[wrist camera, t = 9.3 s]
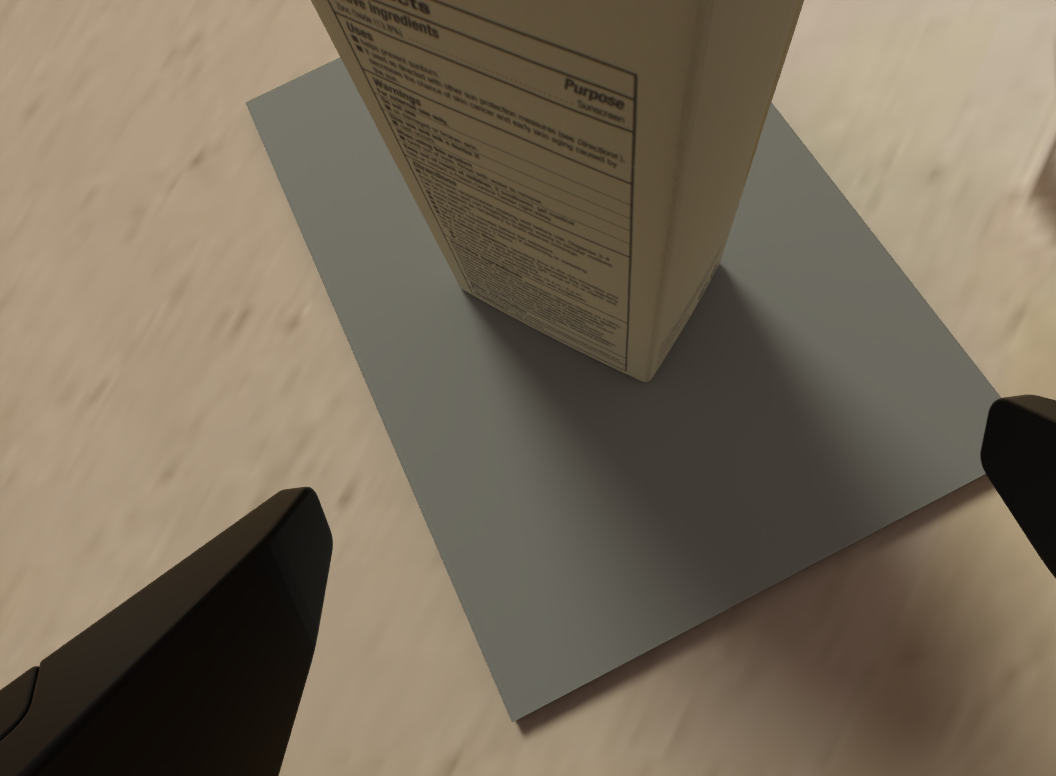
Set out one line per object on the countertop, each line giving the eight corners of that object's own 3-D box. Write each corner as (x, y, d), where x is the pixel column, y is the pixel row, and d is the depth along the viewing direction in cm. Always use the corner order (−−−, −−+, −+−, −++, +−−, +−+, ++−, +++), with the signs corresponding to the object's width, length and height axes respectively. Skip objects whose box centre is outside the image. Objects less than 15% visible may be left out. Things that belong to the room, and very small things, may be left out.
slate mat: (1027, 449, 16) (1038, 446, 15) (514, 718, 15) (512, 722, 15) (628, -70, 22) (628, -81, 21) (252, 111, 21) (245, 102, 21)
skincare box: (724, 258, 17) (974, -385, 6) (647, 391, 17) (759, -48, 5) (524, 165, 19) (405, -491, 7) (444, 284, 18) (167, -246, 7)
